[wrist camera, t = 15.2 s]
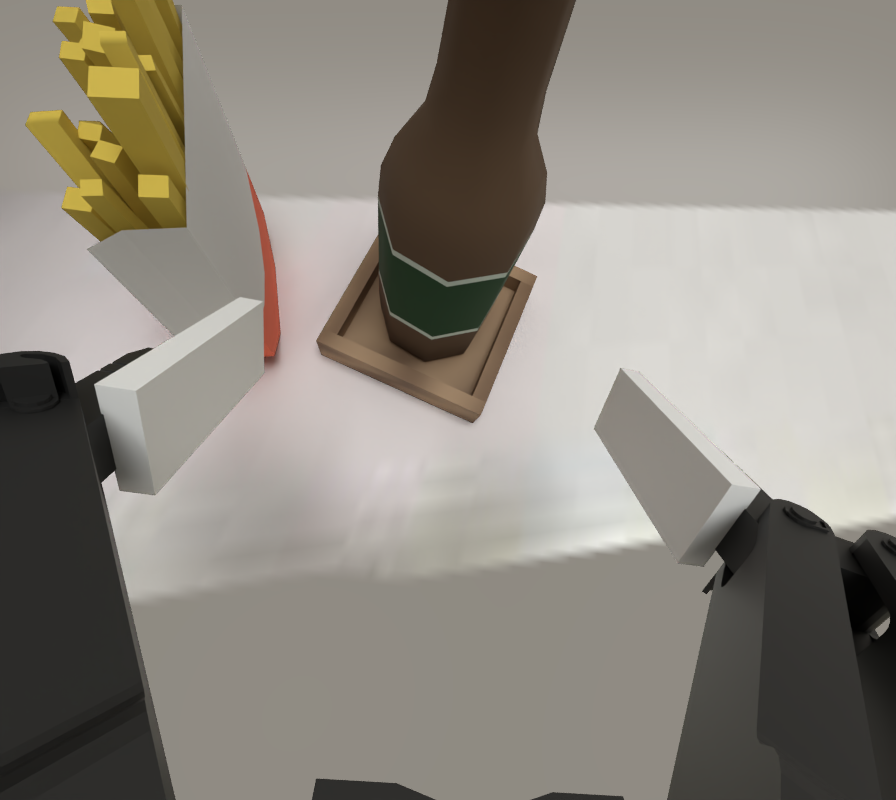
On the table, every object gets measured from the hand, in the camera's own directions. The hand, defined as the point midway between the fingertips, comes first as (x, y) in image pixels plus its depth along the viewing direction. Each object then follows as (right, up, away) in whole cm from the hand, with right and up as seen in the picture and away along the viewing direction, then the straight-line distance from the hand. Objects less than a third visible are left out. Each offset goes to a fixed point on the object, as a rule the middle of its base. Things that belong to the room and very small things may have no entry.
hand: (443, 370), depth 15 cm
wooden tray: (-1, +5, +16) cm, 17 cm away
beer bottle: (-1, +5, +15) cm, 16 cm away
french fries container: (-15, +6, +15) cm, 21 cm away
